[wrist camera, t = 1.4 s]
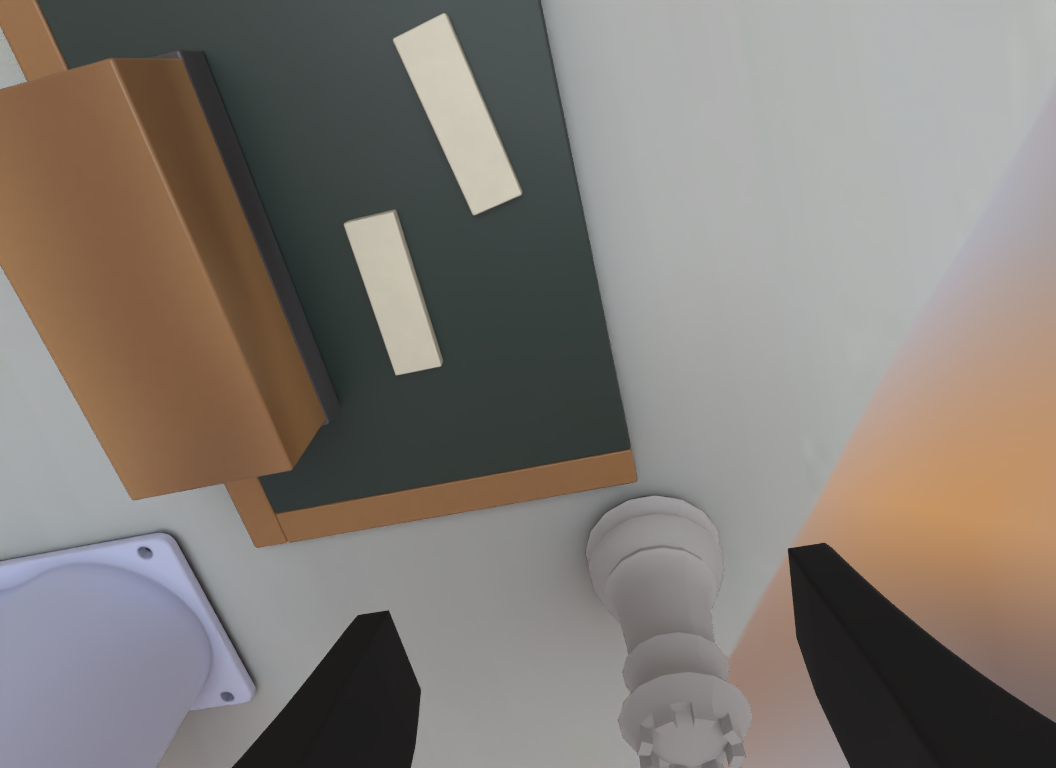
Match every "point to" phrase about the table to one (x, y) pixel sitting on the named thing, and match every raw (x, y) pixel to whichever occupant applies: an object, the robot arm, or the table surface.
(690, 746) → the rook chess piece
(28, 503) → the table surface
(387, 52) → the chalkboard
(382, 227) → the chalk mark
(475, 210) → the chalk mark
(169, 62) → the duster
